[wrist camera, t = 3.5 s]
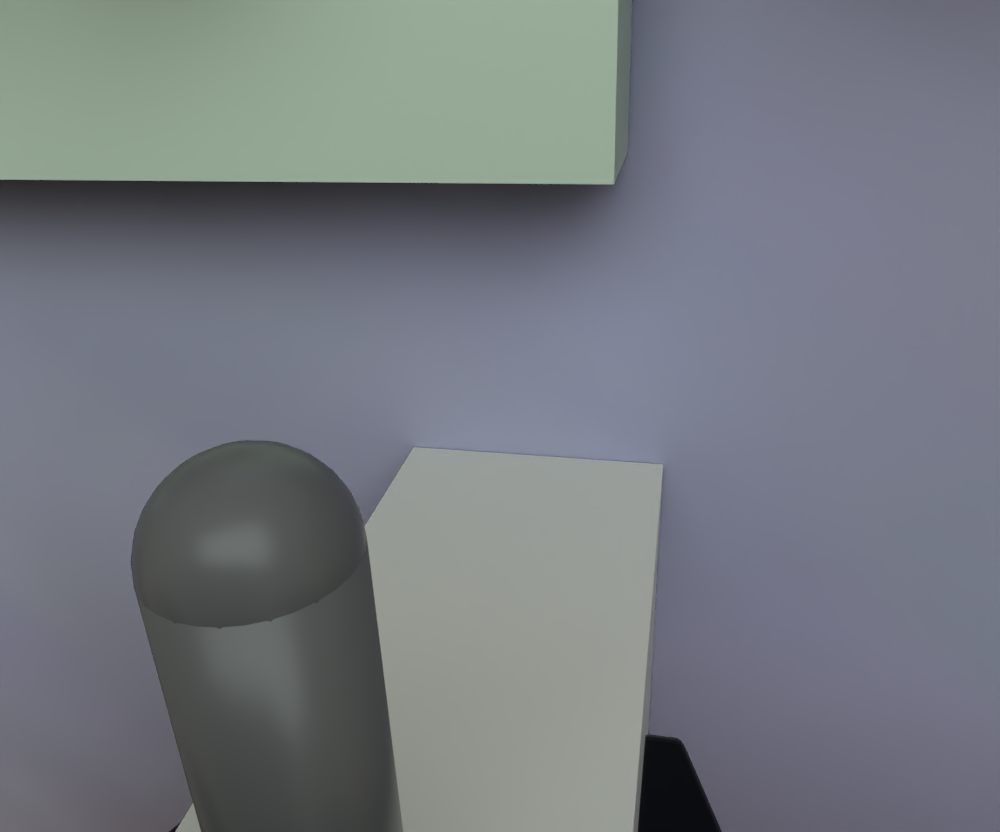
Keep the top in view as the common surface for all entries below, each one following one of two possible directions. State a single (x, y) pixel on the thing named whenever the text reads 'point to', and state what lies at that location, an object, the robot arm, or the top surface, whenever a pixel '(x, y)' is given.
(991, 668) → the top surface
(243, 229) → the top surface
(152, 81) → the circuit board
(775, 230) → the top surface
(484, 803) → the plug
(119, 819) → the top surface
